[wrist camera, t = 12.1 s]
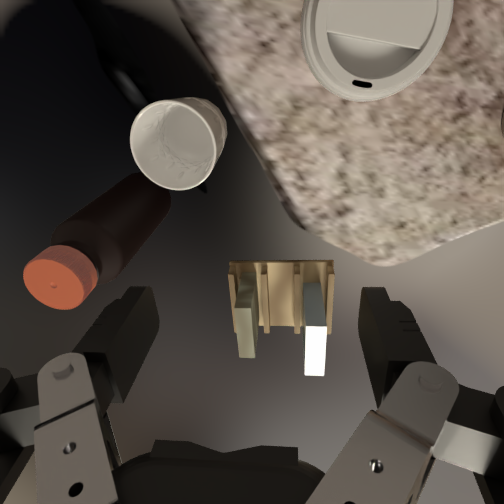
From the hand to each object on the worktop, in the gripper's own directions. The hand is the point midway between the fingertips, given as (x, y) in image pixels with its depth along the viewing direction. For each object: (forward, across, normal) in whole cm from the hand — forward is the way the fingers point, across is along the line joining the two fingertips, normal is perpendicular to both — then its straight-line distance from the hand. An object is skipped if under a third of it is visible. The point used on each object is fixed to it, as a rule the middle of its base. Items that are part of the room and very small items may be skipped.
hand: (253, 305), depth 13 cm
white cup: (+30, +9, -2) cm, 32 cm away
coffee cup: (+30, -7, -10) cm, 33 cm away
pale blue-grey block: (+30, -4, +23) cm, 38 cm away
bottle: (+30, +17, +6) cm, 35 cm away
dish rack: (+30, 0, +21) cm, 37 cm away
